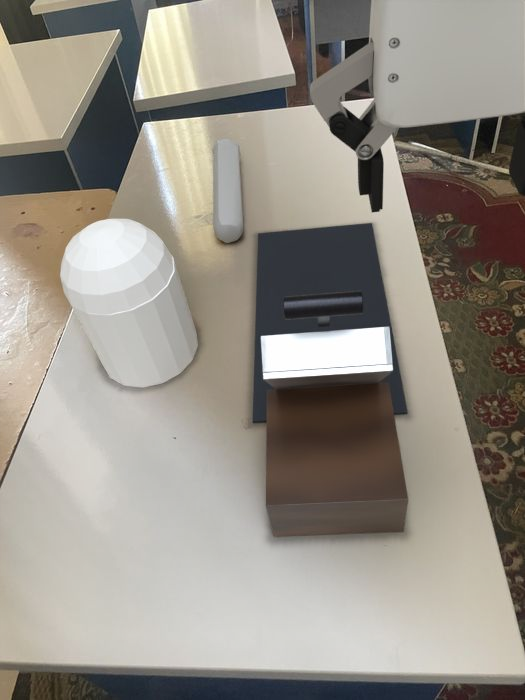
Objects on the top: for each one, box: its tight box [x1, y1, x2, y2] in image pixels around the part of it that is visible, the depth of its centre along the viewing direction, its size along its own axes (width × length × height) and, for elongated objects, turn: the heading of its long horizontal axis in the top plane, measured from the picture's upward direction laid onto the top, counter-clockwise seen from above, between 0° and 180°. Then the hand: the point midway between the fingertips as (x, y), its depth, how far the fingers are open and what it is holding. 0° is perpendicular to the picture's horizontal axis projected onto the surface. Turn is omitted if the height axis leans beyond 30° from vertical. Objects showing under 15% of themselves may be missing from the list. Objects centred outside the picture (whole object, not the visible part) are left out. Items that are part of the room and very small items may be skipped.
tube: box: [211, 138, 245, 244], centre depth 96 cm, size 5×5×25 cm
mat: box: [252, 222, 408, 424], centre depth 78 cm, size 36×18×1 cm, turn 179°
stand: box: [265, 382, 409, 538], centre depth 59 cm, size 14×13×7 cm
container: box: [59, 218, 199, 389], centre depth 70 cm, size 14×13×20 cm
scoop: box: [261, 290, 393, 389], centre depth 52 cm, size 19×11×6 cm
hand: (446, 192), depth 39 cm, fingers open, 9 cm apart
